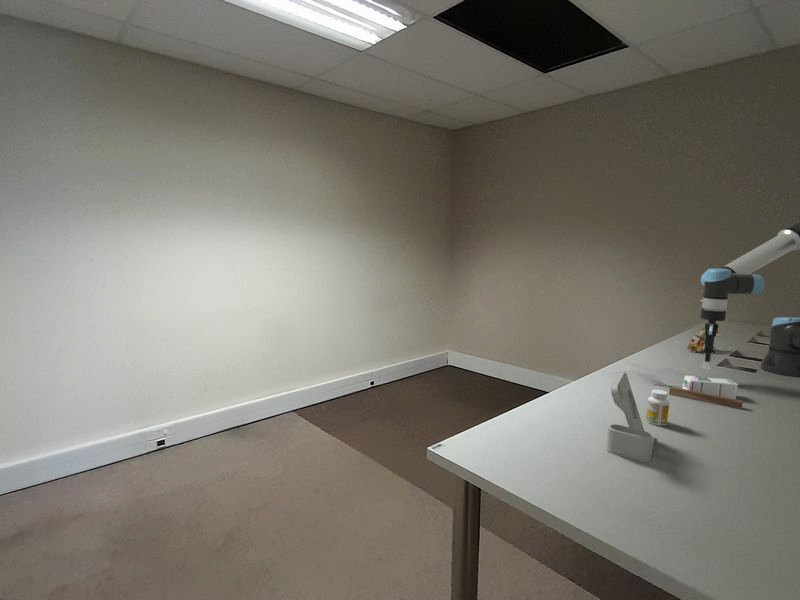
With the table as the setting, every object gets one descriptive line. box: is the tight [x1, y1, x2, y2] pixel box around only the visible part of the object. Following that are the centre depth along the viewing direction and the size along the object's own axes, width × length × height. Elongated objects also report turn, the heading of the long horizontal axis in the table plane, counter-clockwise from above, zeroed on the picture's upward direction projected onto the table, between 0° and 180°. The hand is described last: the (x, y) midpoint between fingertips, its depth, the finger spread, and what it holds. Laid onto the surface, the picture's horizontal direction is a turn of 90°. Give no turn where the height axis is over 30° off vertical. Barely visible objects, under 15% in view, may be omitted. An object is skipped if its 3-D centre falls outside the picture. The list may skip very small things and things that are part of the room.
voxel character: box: [686, 325, 722, 354], centre depth 201 cm, size 11×10×15 cm
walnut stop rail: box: [668, 386, 744, 410], centre depth 140 cm, size 2×20×2 cm, turn 50°
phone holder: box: [605, 371, 656, 464], centre depth 109 cm, size 17×10×18 cm, turn 144°
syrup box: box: [682, 375, 739, 399], centre depth 145 cm, size 6×6×14 cm
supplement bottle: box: [645, 389, 670, 427], centre depth 123 cm, size 5×5×10 cm
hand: (706, 368), depth 159 cm, fingers closed
